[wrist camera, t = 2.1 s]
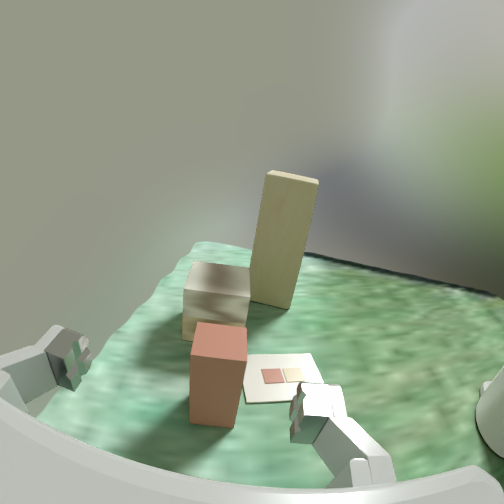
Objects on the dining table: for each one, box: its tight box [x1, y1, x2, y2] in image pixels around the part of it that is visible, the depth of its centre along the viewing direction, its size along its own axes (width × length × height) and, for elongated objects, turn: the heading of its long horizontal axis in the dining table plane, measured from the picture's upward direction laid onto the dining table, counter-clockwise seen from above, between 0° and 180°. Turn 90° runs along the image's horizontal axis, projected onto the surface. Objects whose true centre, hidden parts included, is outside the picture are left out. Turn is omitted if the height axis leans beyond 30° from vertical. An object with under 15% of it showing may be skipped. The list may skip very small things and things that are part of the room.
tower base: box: [182, 261, 250, 341], centre depth 41 cm, size 8×8×8 cm
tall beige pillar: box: [249, 170, 319, 309], centre depth 49 cm, size 8×7×21 cm
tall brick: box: [189, 322, 247, 428], centre depth 26 cm, size 4×4×10 cm
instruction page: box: [243, 353, 324, 403], centre depth 34 cm, size 10×8×1 cm
